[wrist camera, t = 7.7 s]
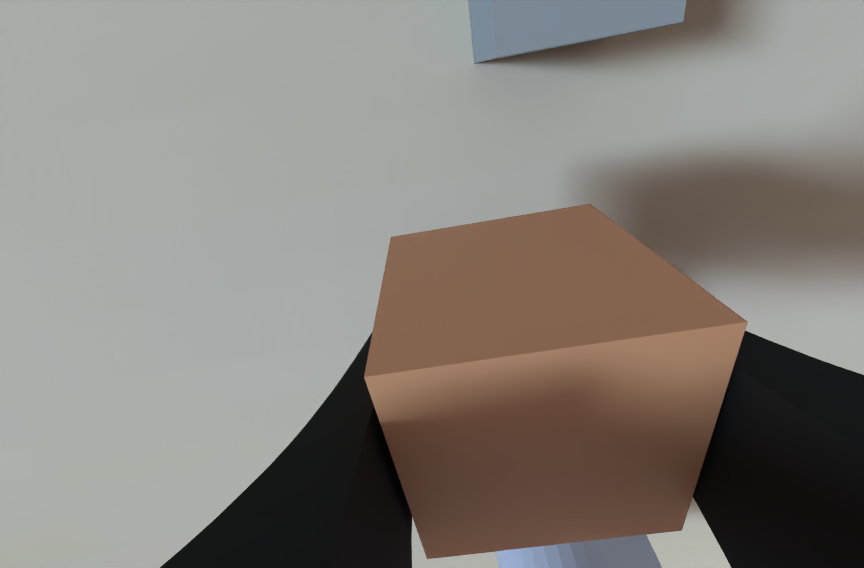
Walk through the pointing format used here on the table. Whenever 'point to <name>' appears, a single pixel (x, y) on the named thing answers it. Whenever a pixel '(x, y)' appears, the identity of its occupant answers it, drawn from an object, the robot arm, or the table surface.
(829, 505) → the robot arm
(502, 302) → the orange block
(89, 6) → the table surface
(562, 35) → the slate block
